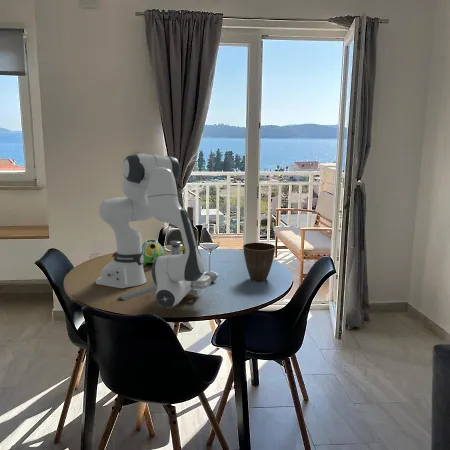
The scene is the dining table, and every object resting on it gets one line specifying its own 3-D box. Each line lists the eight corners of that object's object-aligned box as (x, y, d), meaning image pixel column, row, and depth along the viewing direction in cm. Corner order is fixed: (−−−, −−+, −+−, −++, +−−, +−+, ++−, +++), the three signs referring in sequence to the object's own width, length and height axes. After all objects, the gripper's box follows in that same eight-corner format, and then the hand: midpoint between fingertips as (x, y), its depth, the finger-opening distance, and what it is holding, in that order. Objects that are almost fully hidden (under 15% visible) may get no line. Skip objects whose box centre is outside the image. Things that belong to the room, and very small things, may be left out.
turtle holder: (143, 269, 220) (143, 246, 218) (138, 260, 237) (137, 238, 234) (168, 267, 224) (167, 244, 222) (161, 258, 241) (160, 237, 238)
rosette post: (163, 298, 180) (163, 245, 176) (172, 289, 190) (172, 240, 186) (197, 301, 177) (197, 248, 173) (204, 292, 187) (204, 242, 183)
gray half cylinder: (117, 299, 179) (117, 295, 179) (153, 287, 194) (152, 283, 194) (124, 302, 177) (124, 298, 176) (159, 289, 192) (159, 285, 191)
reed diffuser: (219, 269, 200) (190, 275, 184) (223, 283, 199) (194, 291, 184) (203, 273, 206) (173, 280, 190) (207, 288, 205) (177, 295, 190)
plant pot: (272, 285, 198) (273, 250, 195) (240, 283, 200) (240, 249, 197) (275, 275, 212) (276, 243, 209) (245, 273, 215) (245, 241, 212)
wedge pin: (183, 298, 180) (183, 265, 177) (186, 295, 184) (186, 262, 181) (192, 299, 179) (192, 266, 177) (195, 295, 183) (195, 263, 180)
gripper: (205, 279, 164) (214, 268, 178) (154, 275, 169) (167, 265, 182) (205, 295, 166) (214, 283, 179) (154, 290, 170) (167, 279, 183)
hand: (190, 274), depth 180 cm, fingers open, 8 cm apart
